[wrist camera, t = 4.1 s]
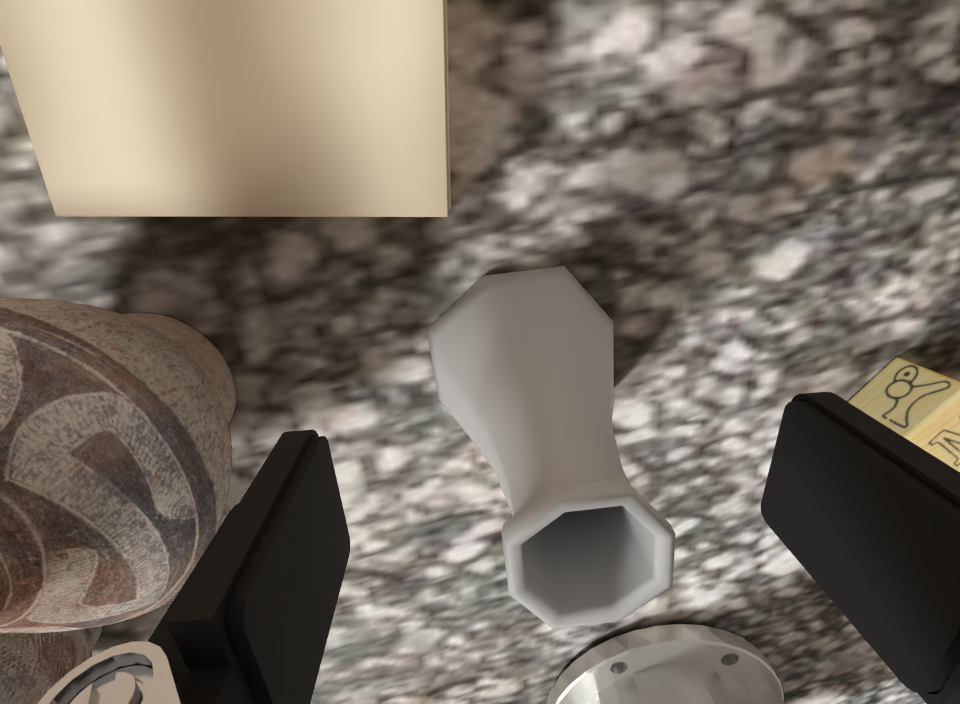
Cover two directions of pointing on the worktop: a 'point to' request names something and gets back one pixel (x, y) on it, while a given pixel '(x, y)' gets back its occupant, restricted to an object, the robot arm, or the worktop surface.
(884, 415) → the alphabet block
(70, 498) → the pottery
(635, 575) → the flask
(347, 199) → the maple block
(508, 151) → the worktop surface
